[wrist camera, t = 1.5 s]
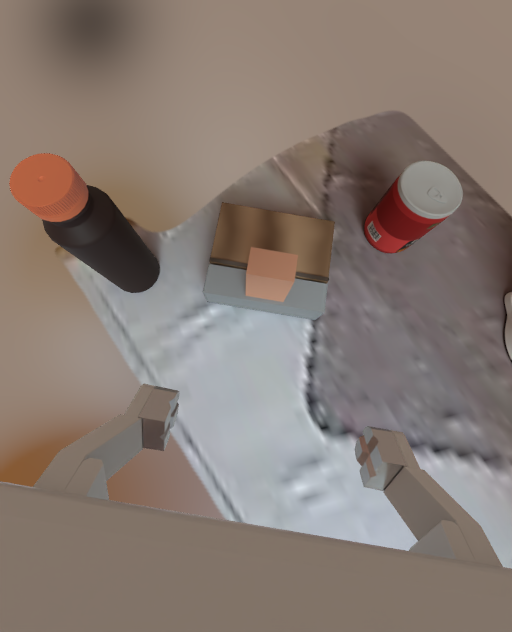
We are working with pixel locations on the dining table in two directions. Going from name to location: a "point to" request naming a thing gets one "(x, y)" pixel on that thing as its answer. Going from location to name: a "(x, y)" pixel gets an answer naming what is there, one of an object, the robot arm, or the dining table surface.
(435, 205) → the canned food
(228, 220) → the block
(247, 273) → the stub
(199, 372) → the dining table surface
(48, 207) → the bottle
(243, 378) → the dining table surface
